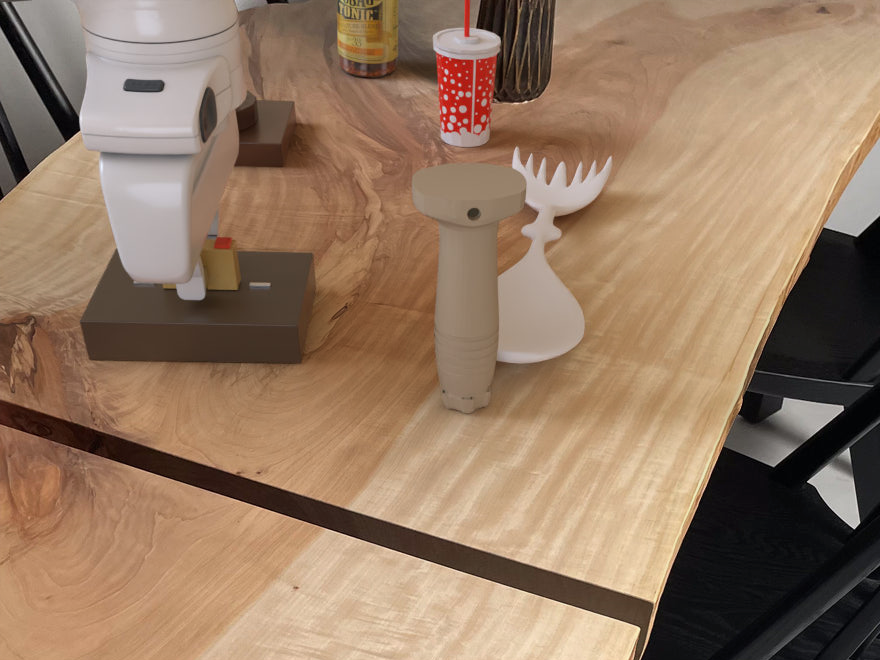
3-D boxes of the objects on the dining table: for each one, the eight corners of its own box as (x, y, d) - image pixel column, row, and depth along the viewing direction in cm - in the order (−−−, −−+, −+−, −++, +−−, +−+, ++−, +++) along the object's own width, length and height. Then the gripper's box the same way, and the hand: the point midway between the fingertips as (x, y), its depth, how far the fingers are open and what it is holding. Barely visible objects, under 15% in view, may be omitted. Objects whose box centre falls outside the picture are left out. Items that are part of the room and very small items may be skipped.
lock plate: (88, 360, 73) (78, 318, 71) (123, 284, 81) (115, 245, 78) (301, 363, 74) (297, 323, 72) (316, 289, 81) (313, 250, 79)
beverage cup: (488, 122, 107) (493, -33, 97) (504, 148, 102) (511, -13, 93) (426, 126, 105) (425, -32, 96) (440, 152, 101) (440, -11, 92)
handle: (412, 382, 73) (408, 164, 63) (509, 378, 74) (519, 162, 64) (418, 425, 69) (415, 201, 59) (519, 420, 70) (532, 198, 60)
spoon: (612, 189, 97) (616, 151, 94) (574, 393, 72) (578, 348, 70) (511, 178, 97) (512, 140, 95) (440, 377, 73) (440, 332, 71)
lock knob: (163, 288, 74) (155, 245, 72) (167, 277, 76) (159, 234, 73) (237, 290, 75) (232, 246, 73) (241, 279, 76) (235, 236, 74)
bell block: (145, 164, 96) (136, 119, 94) (168, 120, 104) (161, 77, 101) (283, 168, 97) (279, 123, 94) (296, 124, 104) (292, 81, 102)
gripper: (152, 13, 73) (183, 207, 82) (69, 134, 58) (118, 356, 67) (247, 16, 74) (268, 209, 83) (190, 138, 58) (223, 358, 67)
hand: (201, 276), depth 75 cm, fingers open, 3 cm apart
